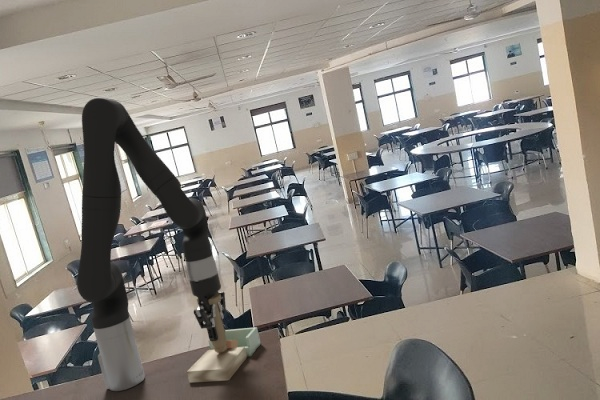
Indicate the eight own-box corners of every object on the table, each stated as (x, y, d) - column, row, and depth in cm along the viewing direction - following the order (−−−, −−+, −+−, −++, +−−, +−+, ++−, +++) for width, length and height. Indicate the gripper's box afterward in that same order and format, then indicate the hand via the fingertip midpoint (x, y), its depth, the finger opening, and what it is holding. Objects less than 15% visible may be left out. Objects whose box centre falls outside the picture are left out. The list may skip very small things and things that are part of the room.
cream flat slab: (189, 382, 129) (186, 371, 128) (210, 360, 140) (208, 349, 140) (228, 380, 125) (226, 368, 125) (246, 357, 137) (244, 346, 136)
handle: (227, 354, 132) (214, 299, 130) (206, 355, 134) (193, 301, 132) (236, 346, 136) (223, 292, 134) (215, 346, 139) (203, 294, 137)
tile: (216, 349, 137) (215, 341, 138) (222, 348, 142) (222, 340, 142) (231, 348, 136) (231, 340, 137) (238, 346, 140) (237, 339, 141)
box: (211, 359, 140) (207, 342, 140) (222, 347, 147) (218, 330, 147) (251, 356, 137) (247, 338, 136) (260, 343, 144) (256, 327, 143)
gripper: (203, 268, 141) (216, 327, 143) (176, 285, 127) (192, 350, 129) (227, 264, 138) (241, 324, 140) (203, 282, 125) (219, 347, 127)
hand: (217, 336), depth 135 cm, fingers closed on handle, 4 cm apart
